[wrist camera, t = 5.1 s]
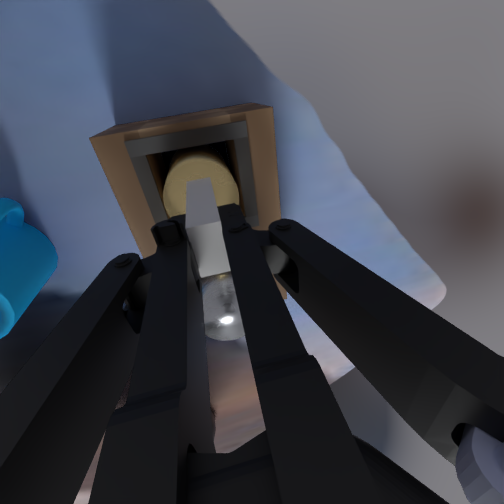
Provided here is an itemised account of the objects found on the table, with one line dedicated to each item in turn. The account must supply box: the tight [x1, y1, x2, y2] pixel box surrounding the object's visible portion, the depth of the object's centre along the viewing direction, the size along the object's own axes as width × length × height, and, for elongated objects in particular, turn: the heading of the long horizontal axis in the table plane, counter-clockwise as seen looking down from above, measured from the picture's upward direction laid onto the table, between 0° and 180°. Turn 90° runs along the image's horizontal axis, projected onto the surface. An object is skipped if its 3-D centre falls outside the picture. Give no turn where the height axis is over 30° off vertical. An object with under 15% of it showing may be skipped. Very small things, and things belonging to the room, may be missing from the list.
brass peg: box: [163, 144, 239, 218], centre depth 20 cm, size 5×5×7 cm
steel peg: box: [199, 271, 245, 341], centre depth 23 cm, size 5×5×7 cm
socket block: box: [89, 103, 287, 299], centre depth 24 cm, size 12×18×7 cm, turn 7°
